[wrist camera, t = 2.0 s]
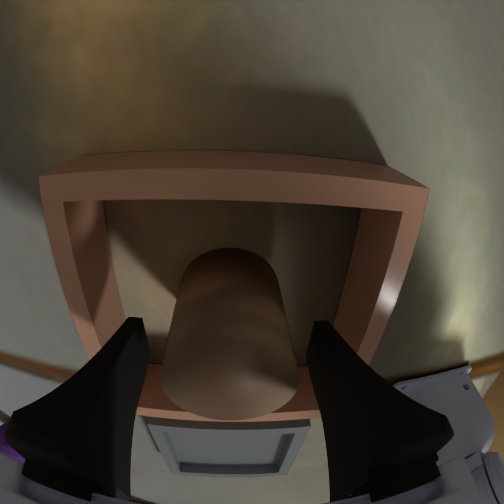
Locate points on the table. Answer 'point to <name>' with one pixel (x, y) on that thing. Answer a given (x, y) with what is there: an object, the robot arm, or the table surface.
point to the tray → (228, 446)
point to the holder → (238, 189)
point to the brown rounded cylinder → (229, 339)
